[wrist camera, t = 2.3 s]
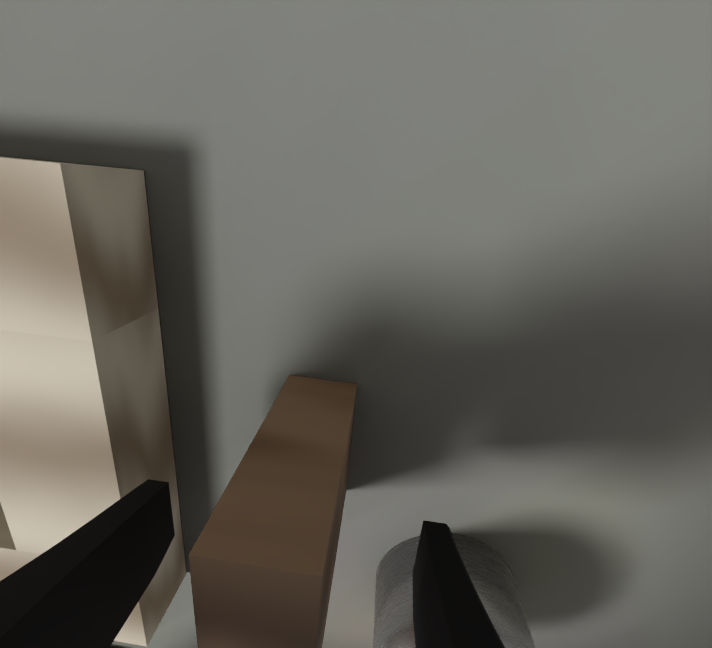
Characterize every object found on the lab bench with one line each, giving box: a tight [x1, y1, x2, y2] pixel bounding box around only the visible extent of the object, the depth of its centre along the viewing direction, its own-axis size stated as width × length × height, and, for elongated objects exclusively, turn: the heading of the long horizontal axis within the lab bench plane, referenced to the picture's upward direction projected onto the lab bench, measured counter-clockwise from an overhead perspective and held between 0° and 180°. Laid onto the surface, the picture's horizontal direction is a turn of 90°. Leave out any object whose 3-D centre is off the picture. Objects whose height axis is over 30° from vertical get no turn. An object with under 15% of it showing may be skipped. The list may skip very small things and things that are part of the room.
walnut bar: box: [189, 375, 357, 648], centre depth 11 cm, size 5×2×7 cm, turn 175°
